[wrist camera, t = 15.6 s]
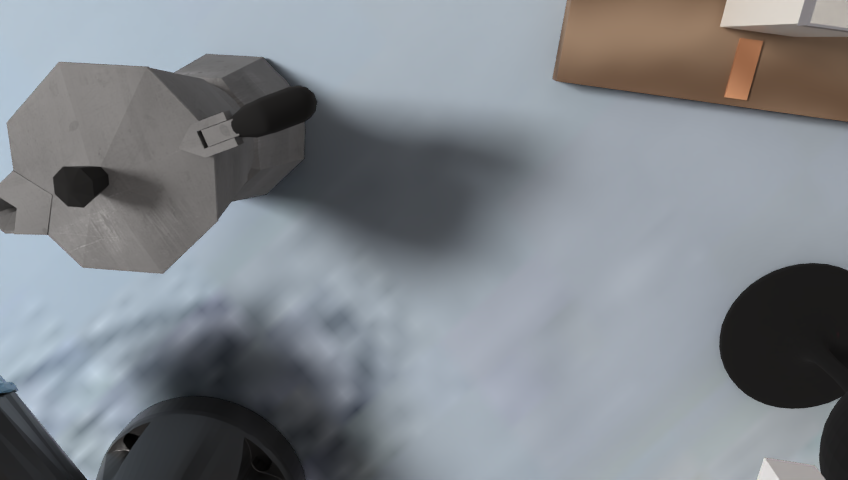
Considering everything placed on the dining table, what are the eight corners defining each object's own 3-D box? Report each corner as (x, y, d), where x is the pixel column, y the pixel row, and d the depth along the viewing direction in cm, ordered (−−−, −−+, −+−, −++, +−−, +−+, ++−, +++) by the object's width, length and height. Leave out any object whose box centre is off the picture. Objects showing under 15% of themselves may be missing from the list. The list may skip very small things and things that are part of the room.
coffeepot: (180, 224, 44) (-12, 346, 27) (116, 89, 41) (-141, 126, 24) (393, 150, 41) (333, 232, 24) (338, 1, 39) (227, -27, 21)
